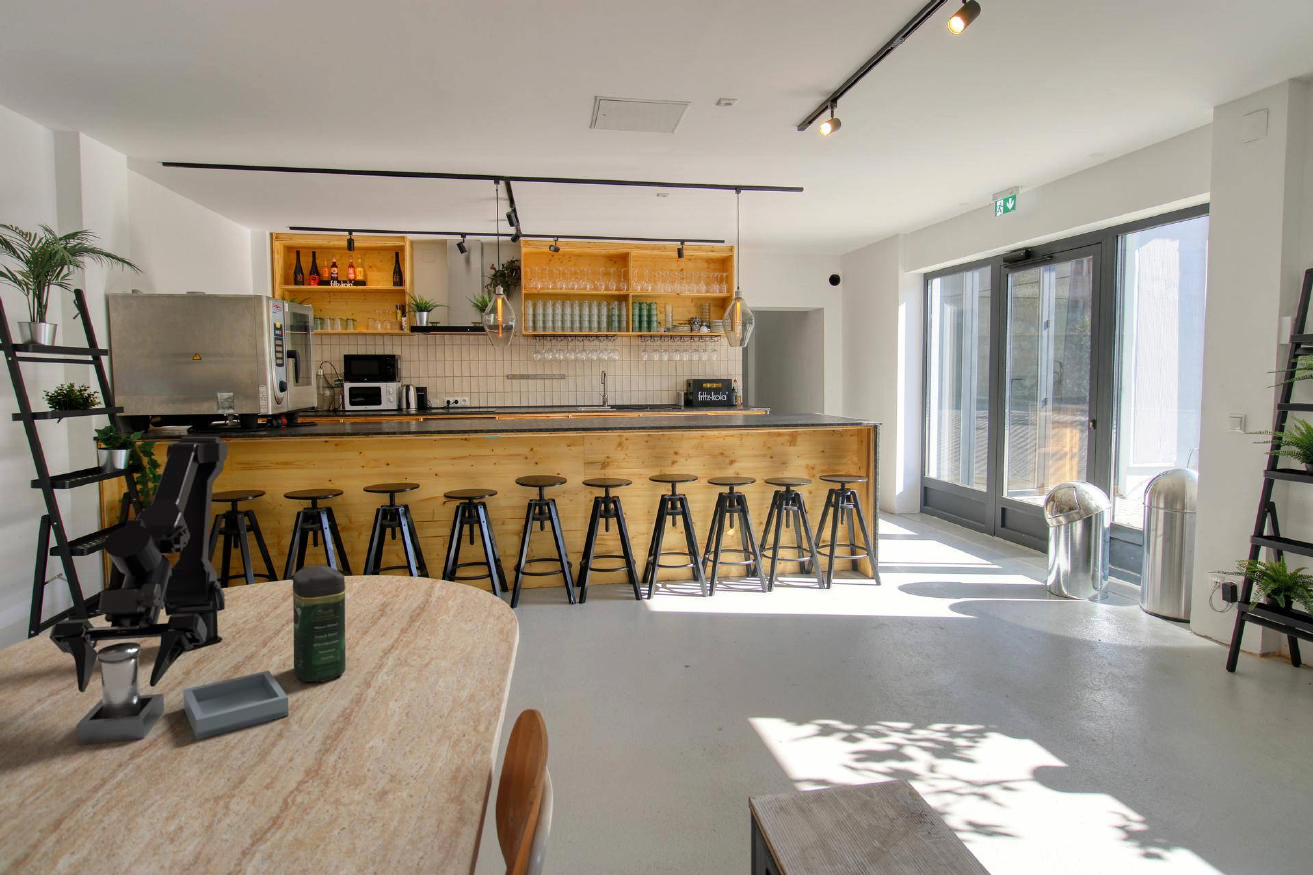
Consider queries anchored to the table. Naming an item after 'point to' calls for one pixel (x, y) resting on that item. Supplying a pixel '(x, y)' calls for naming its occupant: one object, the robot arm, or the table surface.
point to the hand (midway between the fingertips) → (117, 688)
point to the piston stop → (120, 680)
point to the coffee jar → (319, 623)
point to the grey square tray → (120, 722)
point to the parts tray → (234, 704)
